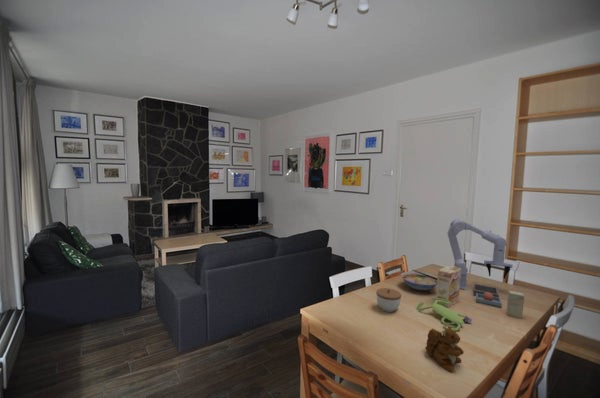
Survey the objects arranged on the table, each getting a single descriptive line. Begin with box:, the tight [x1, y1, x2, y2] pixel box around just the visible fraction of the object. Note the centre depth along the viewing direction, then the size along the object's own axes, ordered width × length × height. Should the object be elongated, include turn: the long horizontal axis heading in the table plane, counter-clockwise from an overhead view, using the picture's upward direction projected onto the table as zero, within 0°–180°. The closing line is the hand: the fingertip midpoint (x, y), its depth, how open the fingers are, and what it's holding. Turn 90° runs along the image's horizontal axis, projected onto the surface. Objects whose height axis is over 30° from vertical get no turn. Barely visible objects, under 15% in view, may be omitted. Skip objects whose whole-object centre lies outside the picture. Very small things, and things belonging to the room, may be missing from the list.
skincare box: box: [505, 290, 525, 319], centre depth 148 cm, size 6×4×12 cm
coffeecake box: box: [436, 265, 461, 308], centre depth 163 cm, size 15×7×20 cm, turn 130°
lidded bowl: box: [376, 287, 402, 313], centre depth 153 cm, size 13×13×11 cm
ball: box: [483, 292, 494, 301], centre depth 164 cm, size 5×5×5 cm
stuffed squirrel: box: [424, 326, 465, 373], centre depth 111 cm, size 10×14×13 cm
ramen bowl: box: [400, 269, 438, 292], centre depth 182 cm, size 25×23×8 cm
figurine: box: [415, 296, 472, 332], centre depth 146 cm, size 18×27×6 cm
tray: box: [475, 293, 503, 309], centre depth 164 cm, size 12×9×2 cm
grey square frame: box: [472, 283, 500, 298], centre depth 175 cm, size 13×13×4 cm
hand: (496, 276), depth 179 cm, fingers open, 7 cm apart
